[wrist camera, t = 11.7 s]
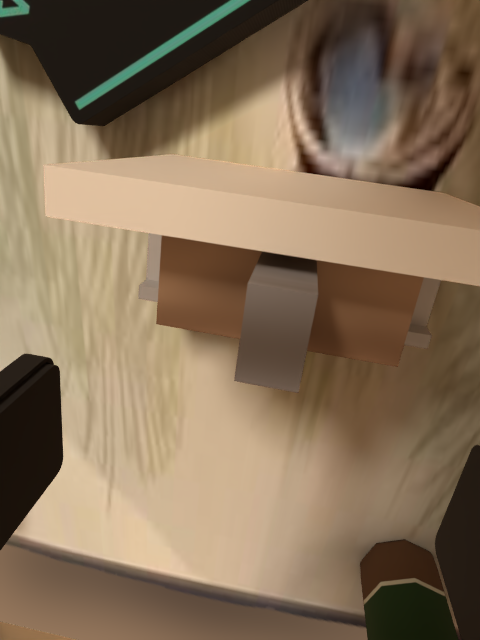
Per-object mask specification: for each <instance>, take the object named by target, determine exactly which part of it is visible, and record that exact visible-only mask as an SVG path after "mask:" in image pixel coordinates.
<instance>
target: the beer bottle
mask: <svg viewBox="0 0 480 640" xmlns="http://www.w3.org/2000/svg"><path fill="white" fill-rule="evenodd" d="M360 569H361V584H362V593H363V601H364V610H365V619H366V628H367V637H368V640H458V637H457V634H456V630H455V627H454V624H453V620H452V617H451V613H450V610H449V607H448V603H447V600H446V596H445V593H444V590H443V586H442V583H441V579H440V576H439V573H438V569H437V567H436V564H435V561H434V558H433V556H432V554H431V553H430V552H429V551H427V550H425V549H423V548H421V547H419V546H417V545H415V544H413V543H411V542H409V541H407V540H397V541H390V542H383V543H376V544H375V545H374V547H373V548H372V549H371V550H370V551H369V552H368V554H367V555H366V556H365V557H364V558H363V559H362V561H361V563H360Z"/></svg>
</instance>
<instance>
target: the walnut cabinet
mask: <svg viewBox="0 0 480 640" xmlns="http://www.w3.org/2000/svg"><path fill="white" fill-rule="evenodd" d="M423 279H424V277H419V276H413V275H407V274H401V273H395V272H388V271H382V270H376V269H370V268H363V267H357V266H351V265H345V264H339V263H332V262H326V261H320V260H314V259H307V258H301V257H295V256H289V255H282V254H276V253H270V252H264V251H258V250H251V249H245V248H239V247H233V246H226V245H220V244H214V243H208V242H202V241H195V240H189V239H183V238H177V237H170V236H164V235H162V237H161V254H160V271H159V288H158V305H157V323H156V324H159V325H165V326H170V327H176V328H182V329H187V330H193V331H199V332H204V333H210V334H215V335H221V336H227V337H232V338H238V339H240V343H239V351H238V358H237V365H236V372H235V380H234V381H237V382H242V383H248V384H253V385H258V386H264V387H269V388H275V389H280V390H285V391H291V392H296V393H298V392H299V387H300V382H301V377H302V372H303V367H304V362H305V358H306V353H307V351H312V352H317V353H323V354H328V355H334V356H340V357H345V358H351V359H357V360H362V361H368V362H374V363H379V364H385V365H391V366H396V367H398V364H399V360H400V357H401V354H402V350H403V347H404V343H405V340H406V337H407V333H408V330H409V326H410V323H411V320H412V316H413V313H414V309H415V306H416V303H417V299H418V296H419V292H420V289H421V286H422V282H423Z"/></svg>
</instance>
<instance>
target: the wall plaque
mask: <svg viewBox="0 0 480 640" xmlns="http://www.w3.org/2000/svg"><path fill="white" fill-rule="evenodd" d="M306 1H308V0H0V34H1V35H4V36H7V37H9V38H12V39H15V40H18V41H21V42H23V43H26V44H29V45H31V46H32V48H33V50H34V51H35V53H36V55H37V57H38V59H39V60H40V62H41V64H42V66H43V68H44V69H45V71H46V73H47V75H48V77H49V79H50V80H51V82H52V84H53V86H54V88H55V89H56V91H57V93H58V95H59V97H60V98H61V100H62V102H63V104H64V106H65V107H66V109H67V111H68V113H69V115H70V116H71V118H72V120H73V121H74V122H75V123H77V124H85V125H98V126H105V125H106V124H108V123H109V122H111V121H113V120H114V119H116V118H118V117H119V116H121V115H122V114H124V113H126V112H127V111H129V110H131V109H132V108H134V107H135V106H137V105H139V104H140V103H142V102H144V101H145V100H147V99H148V98H150V97H152V96H153V95H155V94H157V93H158V92H160V91H161V90H163V89H165V88H166V87H168V86H170V85H171V84H173V83H174V82H176V81H178V80H179V79H181V78H183V77H184V76H186V75H187V74H189V73H191V72H192V71H194V70H196V69H197V68H199V67H200V66H202V65H204V64H205V63H207V62H209V61H210V60H212V59H213V58H215V57H217V56H218V55H220V54H222V53H223V52H225V51H226V50H228V49H230V48H231V47H233V46H235V45H236V44H238V43H239V42H241V41H243V40H244V39H246V38H248V37H249V36H251V35H252V34H254V33H256V32H257V31H259V30H261V29H262V28H264V27H265V26H267V25H269V24H270V23H272V22H274V21H275V20H277V19H278V18H280V17H282V16H283V15H285V14H287V13H288V12H290V11H291V10H293V9H295V8H296V7H298V6H300V5H301V4H303V3H304V2H306Z"/></svg>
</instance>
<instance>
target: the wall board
mask: <svg viewBox="0 0 480 640" xmlns="http://www.w3.org/2000/svg"><path fill="white" fill-rule="evenodd" d="M44 189H45V215H46V217H52V218H58V219H65V220H71V221H77V222H83V223H89V224H96V225H102V226H108V227H114V228H121V229H127V230H133V231H139V232H146V233H149V237H148V257H147V278H146V280H145V281H144V282H142V283H141V284H140V285H139V299H143V300H149V301H155V302H158V288H159V271H160V254H161V237H162V235H164V236H170V237H177V238H183V239H189V240H195V241H202V242H208V243H214V244H220V245H226V246H233V247H239V248H245V249H251V250H258V251H264V252H270V253H276V254H282V255H289V256H295V257H301V258H307V259H314V260H320V261H326V262H332V263H339V264H345V265H351V266H357V267H363V268H370V269H376V270H382V271H388V272H395V273H401V274H407V275H413V276H419V277H424V279H423V282H422V286H421V289H420V292H419V296H418V299H417V303H416V306H415V309H414V313H413V316H412V320H411V323H410V326H409V330H408V333H407V337H406V340H405V343H404V345H407V346H413V347H418V348H424V349H428V346H429V343H430V340H431V337H432V335H431V333H430V332H429V330H428V328H427V324H428V321H429V317H430V314H431V311H432V308H433V305H434V301H435V298H436V295H437V292H438V289H439V285H440V282H441V280H444V281H451V282H457V283H463V284H469V285H475V286H480V206H477V205H474V204H472V203H469V202H467V201H464V200H461V199H459V198H456V197H453V196H451V195H448V194H445V193H441V192H434V191H427V190H420V189H413V188H406V187H399V186H392V185H386V184H379V183H372V182H365V181H358V180H351V179H344V178H337V177H330V176H323V175H316V174H309V173H302V172H295V171H288V170H281V169H274V168H267V167H260V166H253V165H246V164H239V163H232V162H226V161H219V160H212V159H205V158H198V157H191V156H184V155H177V154H169V155H157V156H145V157H133V158H120V159H108V160H96V161H84V162H72V163H60V164H47V165H44Z"/></svg>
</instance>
